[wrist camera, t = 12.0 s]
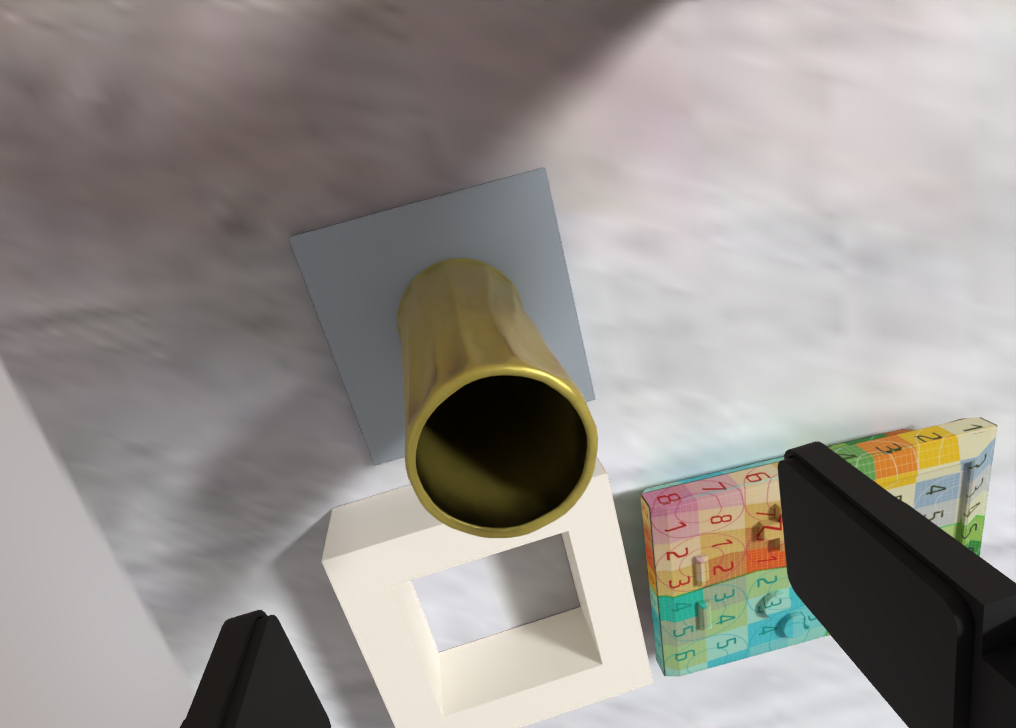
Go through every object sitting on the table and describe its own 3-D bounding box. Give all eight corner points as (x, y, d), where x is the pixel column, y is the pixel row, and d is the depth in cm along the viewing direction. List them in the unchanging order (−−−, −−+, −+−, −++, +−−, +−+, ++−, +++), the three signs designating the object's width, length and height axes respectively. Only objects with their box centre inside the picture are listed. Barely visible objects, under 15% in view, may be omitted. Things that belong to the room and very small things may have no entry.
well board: (332, 508, 32) (321, 561, 28) (581, 432, 33) (607, 472, 29) (411, 694, 37) (411, 763, 33) (626, 624, 38) (653, 683, 34)
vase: (515, 382, 31) (596, 554, 18) (393, 375, 30) (381, 554, 16) (530, 263, 29) (633, 355, 16) (400, 251, 28) (393, 339, 15)
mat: (290, 236, 27) (288, 238, 27) (542, 167, 28) (545, 167, 28) (375, 460, 32) (374, 465, 31) (592, 395, 32) (595, 399, 32)
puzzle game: (655, 517, 30) (1013, 432, 32) (624, 471, 35) (940, 399, 37) (671, 689, 34) (987, 605, 36) (641, 629, 39) (925, 557, 41)
